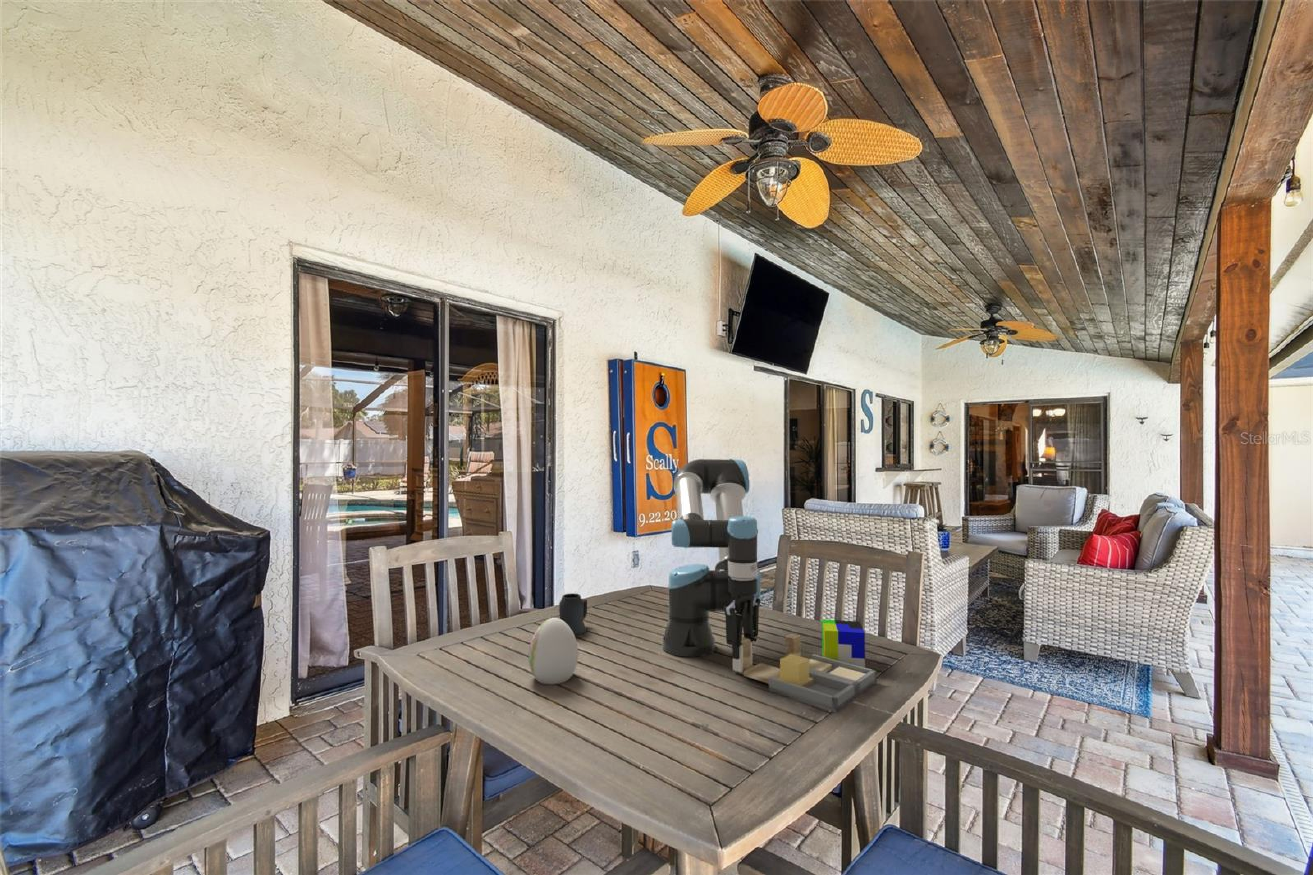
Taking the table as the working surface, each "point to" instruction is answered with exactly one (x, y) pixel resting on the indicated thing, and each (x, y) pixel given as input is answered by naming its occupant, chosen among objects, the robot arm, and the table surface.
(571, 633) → the decorative egg
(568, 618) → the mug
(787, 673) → the cube
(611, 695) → the table surface
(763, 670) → the strip
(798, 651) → the strip
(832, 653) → the puzzle toy
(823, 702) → the board
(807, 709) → the table surface
